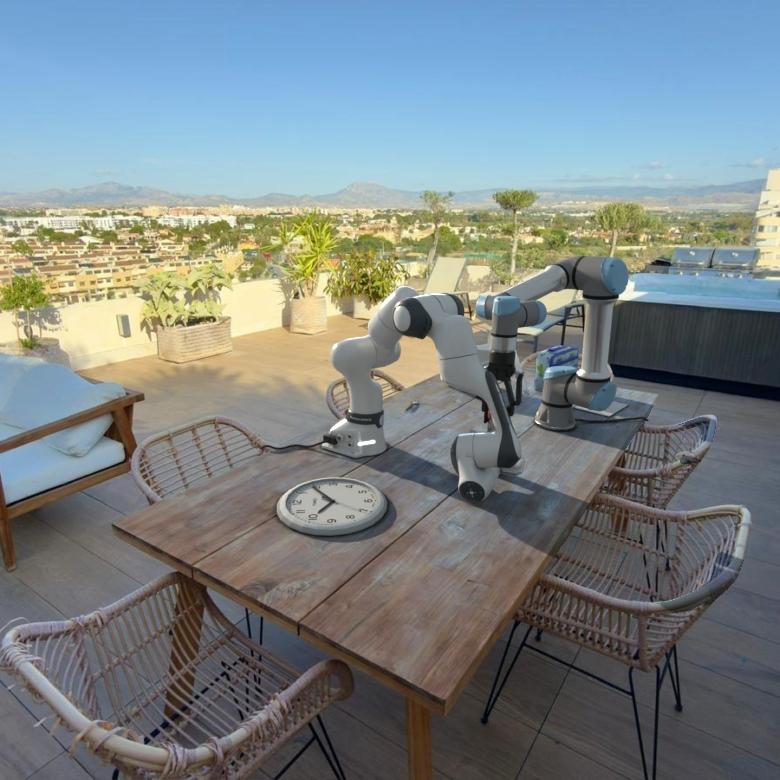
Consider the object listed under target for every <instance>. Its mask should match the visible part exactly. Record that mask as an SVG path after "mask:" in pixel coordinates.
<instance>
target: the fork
mask: <svg viewBox="0 0 780 780" xmlns="http://www.w3.org/2000/svg"><path fill="white" fill-rule="evenodd" d="M420 399H421V397H420V396H415V397H414V398H413V400H412V404H410V405H408V407H407V408H406V410H405V411H409V410H411V409H412V408H413V406H414V405H415V404H419V402H420Z"/></svg>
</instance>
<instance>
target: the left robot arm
mask: <svg viewBox="0 0 780 780" xmlns="http://www.w3.org/2000/svg"><path fill="white" fill-rule="evenodd" d="M367 331H368V334H366V335H364V336H358V337H357V336H356V337H350V338H345V339H343V340H340V341H338V342H335V343H334V344H333V345H332V347H331V349H330V351H329V352H330V353H329V360H330V363H331V365H332V367H333V368H334V370H336V371H337V372H338V373H340V375H342V376H343V377H344V379H345V381H346V384H347V385H348V393H349V395H348V396H349V405H348V407H346V408H345V410H344V411H342V415H343V416H344V415H345V416H344V418H342V419H341V420H339V421H338V422H336V423H334V424H333V425H332V426H331V428H330V430H329V432H328V433H327V432H326V433H325V434H323V435H322V441H319V442H316V443H313V444H309V445H306V444H305V445H304V444H296V443H295V444H294V443H293V444H290V445H286V446H281V447H276V446H274V445H271V444H264V445H262V446H261V447H260V450H263V449H265V448H270V449H273V450H276V451H281V450H286V449H289V448H294V447H299V448H306V449H310V448H314V447H317V446H320V445H321V448H322V449H324V450H327V451H331V452H334V453H336V454H341V455H343V456H347V457H350V458H354V459H359V458H362V457H369V456H377V455H380V454H382V453H384V452H385V451H386V450H387V448H388V445H387V443H386V439H385V432H384V424H385V409H384V407H383V406H384V405H383V403H384V401H383V400H384V389H383V386H382V385H381V384H380V382H378V381H377V380H375V379H373V378H372V375H371V370H374V369H379V368H385V367H387V366H390V365H392V364H394V363H396V362H398V361H399V359H400V357H401V355H402V346H401V343H400V340H401V339H402V338H403V337H404V336H405V337H410V338H415V339H417V340H418V339H419V340H425V338H426V337H428V338H429V339H431V341H433V344H434V348H435V354H436V362H437V367H438V372H439V376H440V375H441V376H440V378H441V377H442V379H443V380H444V381H445V382H446V383H447V384H448V385H447V386H450V387H451V388H453V389H456V390H458V391H461V392H465V393H469V394H472V395H475V396H476V395H478V396H479V397H481V398H482V399H484V400H485V402H486V403H487V405H488V408H489V411H490V414H491V417H492V420H493V423H494V426H495V429H496V431H492V432H487V431H480V432H467V433H459V434H458V435H457V436H455V438H454V440H453V442H452V443H451V445H450V452H449V453H450V454H449V455H450V461H451V465H452V468H453V469H454V471H455V473H456V474H457V475H458V477H459V478H458V484H457V487H458V488H457V490H458V493H459V496H460V497H461V498H462V499H463V500H465V501H467V502H469V503H473V504H474V503H480V502H483V501H484V500H486V499H487V498H488V497H489V495H490V494H491V492H492V490H493V489H494V487H495V484H496V482H497V480H498V478H499V476H500V475H507V476H512V477H517V476H520V475H522V474H523V472H524V469H525V465H526V464H525V463H526V458H525V457H523V456H522V445H521V442H520V439H519V437H518V434H517V431H516V430H515V427H514V425H513V422H512V419H511V416H509V413H508V410H507V405H506V402H505V398H504V396H503V392H502V390H501V388H500V385H499V383H498V382H499V381H497V380H496V378H495V376H494V375H493V373H492V372H490V371H487V370H486V369H485V368H484V366H483V365H482V363H481V361H480V359H479V355H478V350H477V346H478V345H477V340H476V336H475V333H474V330H473V327H472V324H471V322H470V320H469V319H468V318H467V317H466V316H465V306H464V303H463V301H462V299H461V298H460V297H459V296H457V295H455V294H453V293H449V292H441V293H426V294H422V295H421V294H420V293H419V292H418V291H417V290H416V289H415V288H413V287H411V286H406V285H404V286H399V287H397V288H396V289H395V290H393V291H391V293H390V294H389V295H388V296H387V297H386V298H385V299H384V300H383V301H382V303H380V305H379V306H378V308H377V309H376V311H375V312H374V313H373V314H372V316H371V317H370V319H369V320H368V323H367Z"/></svg>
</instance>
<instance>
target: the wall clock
mask: <svg viewBox="0 0 780 780" xmlns="http://www.w3.org/2000/svg"><path fill="white" fill-rule="evenodd" d="M387 509H388V500H387V498H386V496H385V494H384V493H383V492H382V491H381V490H380V489H379V488H377V487H376V486H374V485H372V484H371V483H369V482H365V481H362V480H359V479H355V478H349V477H338V476H337V477H335V476H333V477H332V476H331V477H322V478H317V479H312V480H307V481H305V482H302V483H299V484H297V485H295V486H293V487H292V488H290V489H288V490H287V491H286V492H285V493H284V494H283V495H281V496H280V498H279V499H278V502H277V503H276V515H277V517H278V518H279V520H280V521H281V522H282V523H283V524H285V525H286V526H287V527H288V528H290V529H293V530H295V531H297V532H299V533H303V534H308V535H312V536H327V537H328V536H329V537H331V536H332V537H333V536H342V535H350V534H352V533H356V532H361V531H363V530H366V529H368V528H369V527H372V526H373V525H375V524H376V523H378V522H379V521H380V520H381V519H382V518H383V517H384V516H385V514H386V512H387Z"/></svg>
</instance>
